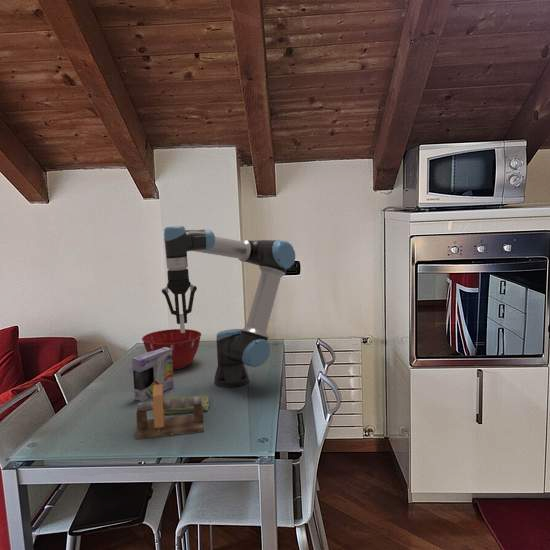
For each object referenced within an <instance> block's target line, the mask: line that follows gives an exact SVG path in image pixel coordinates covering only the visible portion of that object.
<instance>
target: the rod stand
mask: <svg viewBox="0 0 550 550" xmlns="http://www.w3.org/2000/svg"><path fill="white" fill-rule="evenodd" d="M191 406H194V412H193V414H185V415H179V416H177V415H176V416H168V417H164V427H158V428H154V418H150V419H149V418H148V416H147V415H148V414H147V412H150V411H152V412H154V411H153V400H152V401H145V402H144V401H141V402H138V403H137V408H136V412H135V415H136V428H137V430H136V440H141V439H140V438H144V439H149V438H148V437H153V438H156V437H155V436H161V437H165V436H164V435H170V436H172V435H171V434H178V435H182V434H181V433H187V434H190V433H189V432H196V433H200V432H199V431H204V432H205V423H204V412H203V405H202V402H201V397H191V398H181V399H172V400H165V399H164V400H163V409H172V408H181V407H191Z"/></svg>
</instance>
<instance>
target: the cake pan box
mask: <svg viewBox="0 0 550 550" xmlns="http://www.w3.org/2000/svg"><path fill="white" fill-rule="evenodd" d="M131 361H132V373H133V375H132V376H133V391H134V392H133V393H134V400H136V401H138V400H139V401H138V402H144V401H146V399H147V400H149V399H151V398H153V388H154V385H158V384H163V393H164V392H167V391H168V390H170V389H172V388H174V387H175V386H174V385H175V384H174V370H173V364H172V349H171V348H167V347H163V348H161V349H158V350H155V351H151V352H148V353H147V352H145V353H144V354H141V355H138V356H135V357H132V358H131ZM148 398H149V399H148Z"/></svg>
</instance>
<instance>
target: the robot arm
mask: <svg viewBox="0 0 550 550" xmlns="http://www.w3.org/2000/svg"><path fill="white" fill-rule="evenodd" d="M163 238H164V239H163V240H164V248H165V262H166V268H167V272H166V273H167V284H166V287H164V288H162V289H161V293H162V295H163V296H164V297H165V300H166V302H167V305H168V309H169V311H170V314H171V315H173V316H175V318H176V324H177V325H179V329H180V331H181V333H185V329H186V328H185V325H186V324H187V323H188V314H190V313H192V311H193V304H194V299H195V293H196V292H197V289H198V288H197V286H196V285H194V284H191V281H190V276H189V275H190V274H189V269H188V267H189V264H188V252H196V253H203V254H210V255H215V256H222V257H228V258H234V259H238V260H239V261H240V262H244V263H248V264H253V265H255V266H258V268H259V270H260V276H259V280H258V283H257V287H256V290H255V294H254V297H253V301H252V304H251V309H250V312H249V316H248V317H247V318H248V320H247V323H246V324H247V326H246V325H245V326H246V327H245V326H244V327H245V328H244V327H243V328H234V329H233V328H231V329H225V330H220V331H219V332H218V333H217V334H216V341H215V342H216V355H217V367H216V371H215V373H214V374H215V375H214V380H213V381H214V384H215V385H216V386H218V387H220V388H221V387H222V388H237V387H241V386H245V385H247V384H248V383H249V382H250V376H249V373H248V369H247V367H246V366H248V367H253V368H257V367H260V366H262V365H264V364H265V363H266V362H267V360H268V359H269V357H270V355H271V347H270V344H269V342H268V341H269V335H268V334H267V329H268V326H269V322H270V318H271V314H272V310H273V307H274V305H275V300H276V296H277V293H278V289H279V285H280V281H281V278H283V276H285V275H286V273H287V270H288V269H289V268H291V267H292V266H294V264H295V261H296V252H295V249H294V247H293V245H292V244H291V243H290V242H289V241H286V240H281V239H276V240H275V239H274V240H272V239H271V240H270V239H260V240H249V239H243V240H235V239H232V238H225V237H221V236H220V237H219V236H215V234H214V232H213V231H212V230H211V229H205V228H204V229H186V228H185V226H184V225H183V226H182V225H180V226H166V227H165V228H164V232H163ZM188 290H190V294H189V299H188V306H187V302H186V300H187V299H186V293H187V292H188ZM169 291H170V292H171V293H172V294H173V296H174V307H173V304H172V301H171V298H170V295H169ZM179 295H181V305H182V313H180V303H179ZM174 308H175V309H174Z"/></svg>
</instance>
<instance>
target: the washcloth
mask: <svg viewBox="0 0 550 550" xmlns="http://www.w3.org/2000/svg"><path fill="white" fill-rule="evenodd" d="M191 397H201V402H202V405H203V413H204V412H207V411H209V407H210V401H209V400H210V396H208V395H200V394H198V395H188V396H175V397H174V396H170V397H167V398H165V399H164V400H172V399H181V398H191ZM189 412H190V413H191V412H192V413H194V406H191V407H181V408H172V409H164V414H169V415H179V414H178V413H184V414H189Z"/></svg>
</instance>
